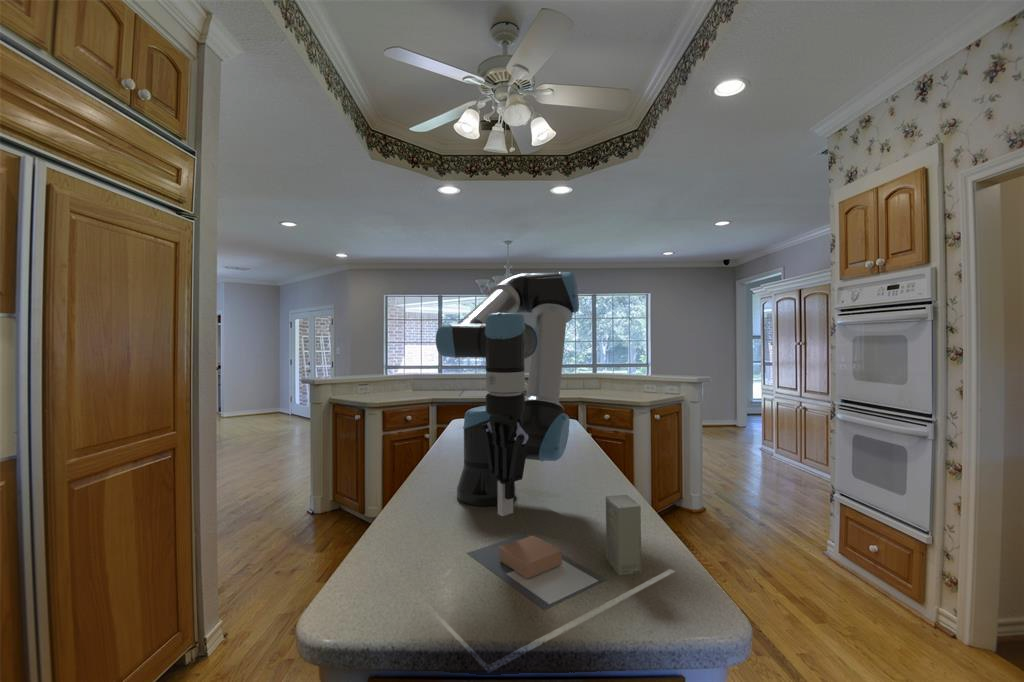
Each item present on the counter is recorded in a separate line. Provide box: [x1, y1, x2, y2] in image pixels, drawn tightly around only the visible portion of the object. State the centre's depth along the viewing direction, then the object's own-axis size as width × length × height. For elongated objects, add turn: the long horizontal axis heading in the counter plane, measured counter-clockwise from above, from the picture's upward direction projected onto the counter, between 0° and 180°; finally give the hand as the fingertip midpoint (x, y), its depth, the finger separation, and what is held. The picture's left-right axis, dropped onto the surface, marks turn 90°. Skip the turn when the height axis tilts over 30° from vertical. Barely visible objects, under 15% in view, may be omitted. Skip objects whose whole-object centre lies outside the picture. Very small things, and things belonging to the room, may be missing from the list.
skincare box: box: [605, 494, 643, 576], centre depth 81 cm, size 6×4×12 cm
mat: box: [466, 533, 608, 611], centre depth 81 cm, size 22×14×1 cm, turn 37°
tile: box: [499, 535, 563, 579], centre depth 81 cm, size 3×8×8 cm
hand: (505, 513), depth 88 cm, fingers closed
